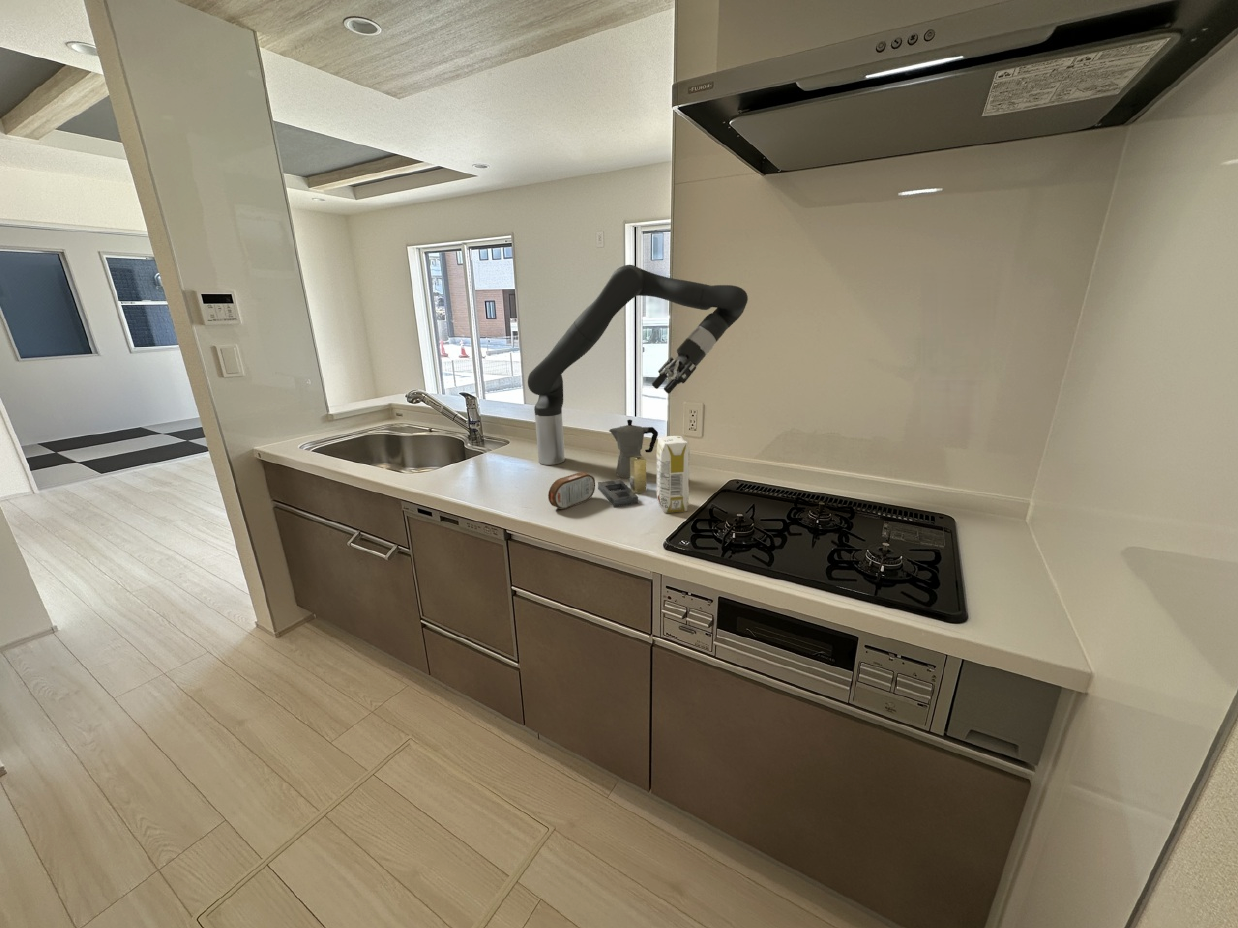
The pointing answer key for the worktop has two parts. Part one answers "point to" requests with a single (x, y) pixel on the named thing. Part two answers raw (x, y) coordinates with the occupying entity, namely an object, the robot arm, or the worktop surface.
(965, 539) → the worktop surface
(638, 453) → the coffeepot
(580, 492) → the tin
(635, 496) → the grey base with slots
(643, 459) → the wooden post with button
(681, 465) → the juice carton
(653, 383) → the robot arm
